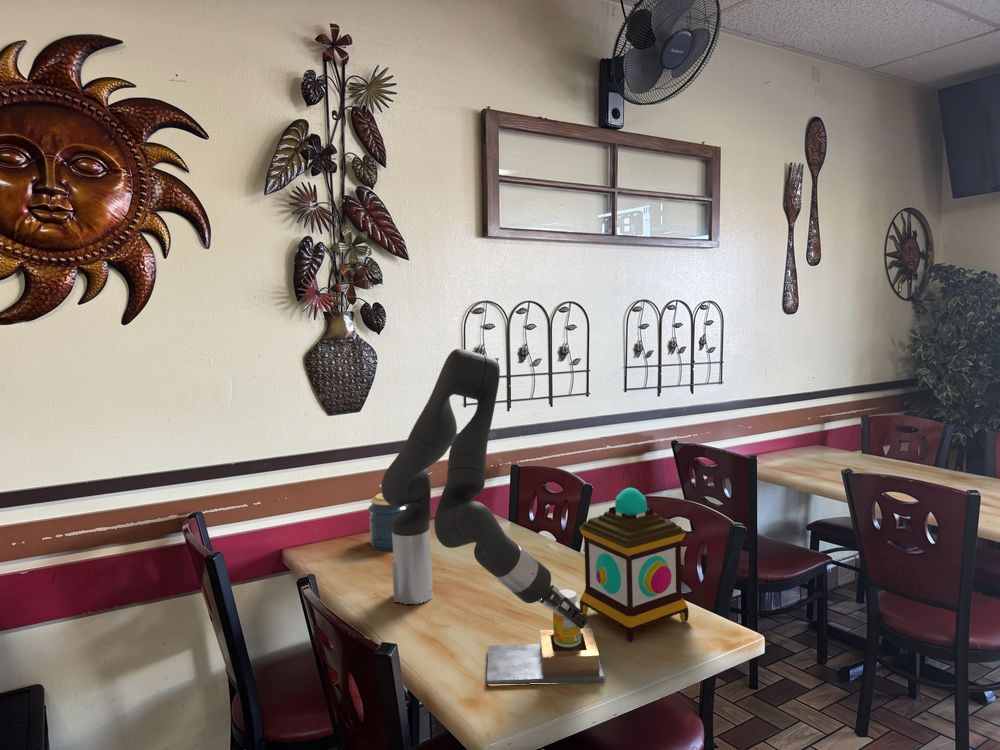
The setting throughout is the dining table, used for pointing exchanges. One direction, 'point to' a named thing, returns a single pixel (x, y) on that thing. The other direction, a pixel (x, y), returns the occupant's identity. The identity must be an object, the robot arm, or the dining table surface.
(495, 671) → the jig
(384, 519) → the canister
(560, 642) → the supplement bottle
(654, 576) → the decorative lantern
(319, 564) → the dining table surface
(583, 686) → the dining table surface
